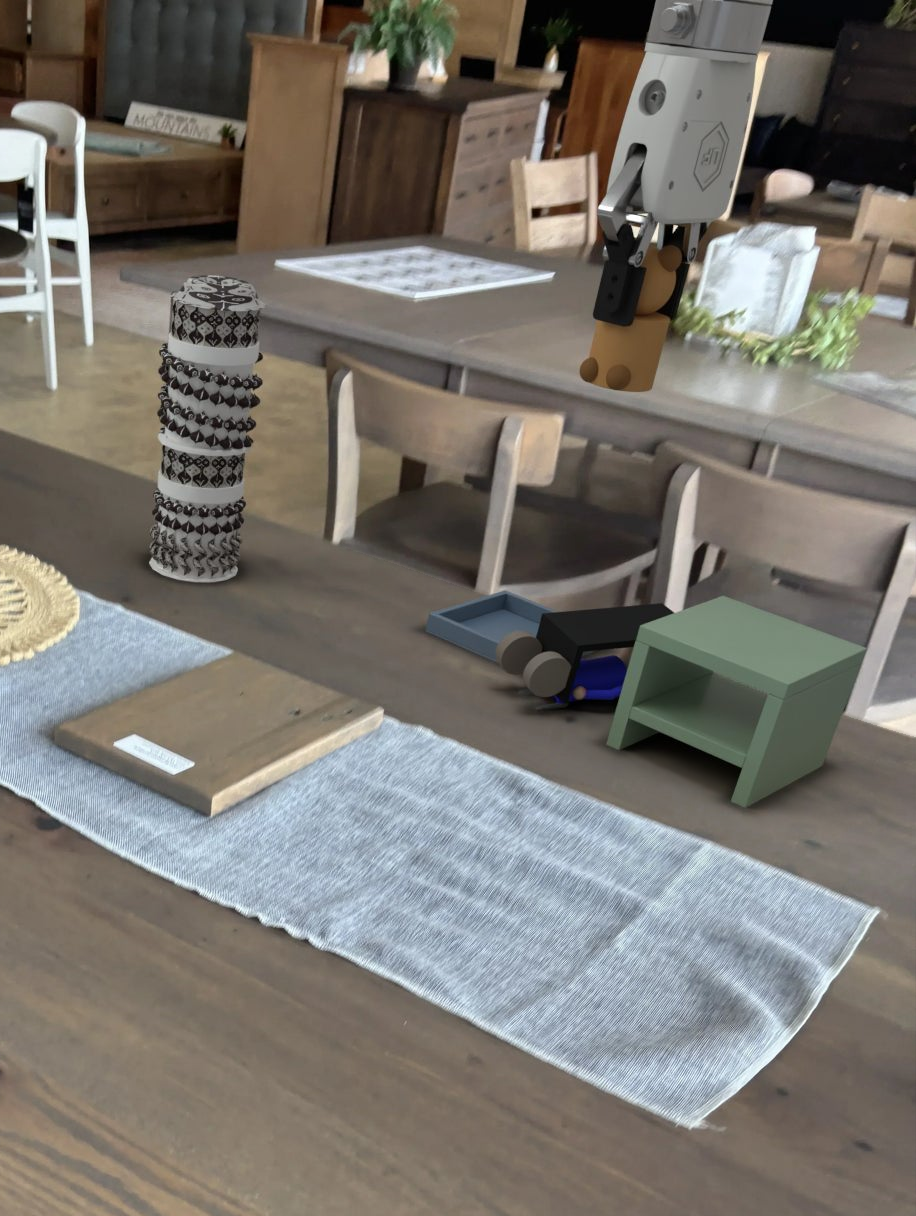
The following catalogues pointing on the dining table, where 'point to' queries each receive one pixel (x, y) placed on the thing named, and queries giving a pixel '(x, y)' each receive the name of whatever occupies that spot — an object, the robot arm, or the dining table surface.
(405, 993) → the dining table surface
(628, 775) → the dining table surface
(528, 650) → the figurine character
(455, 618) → the tray
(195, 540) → the decorative candle
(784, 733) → the shelf
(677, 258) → the toy bear
